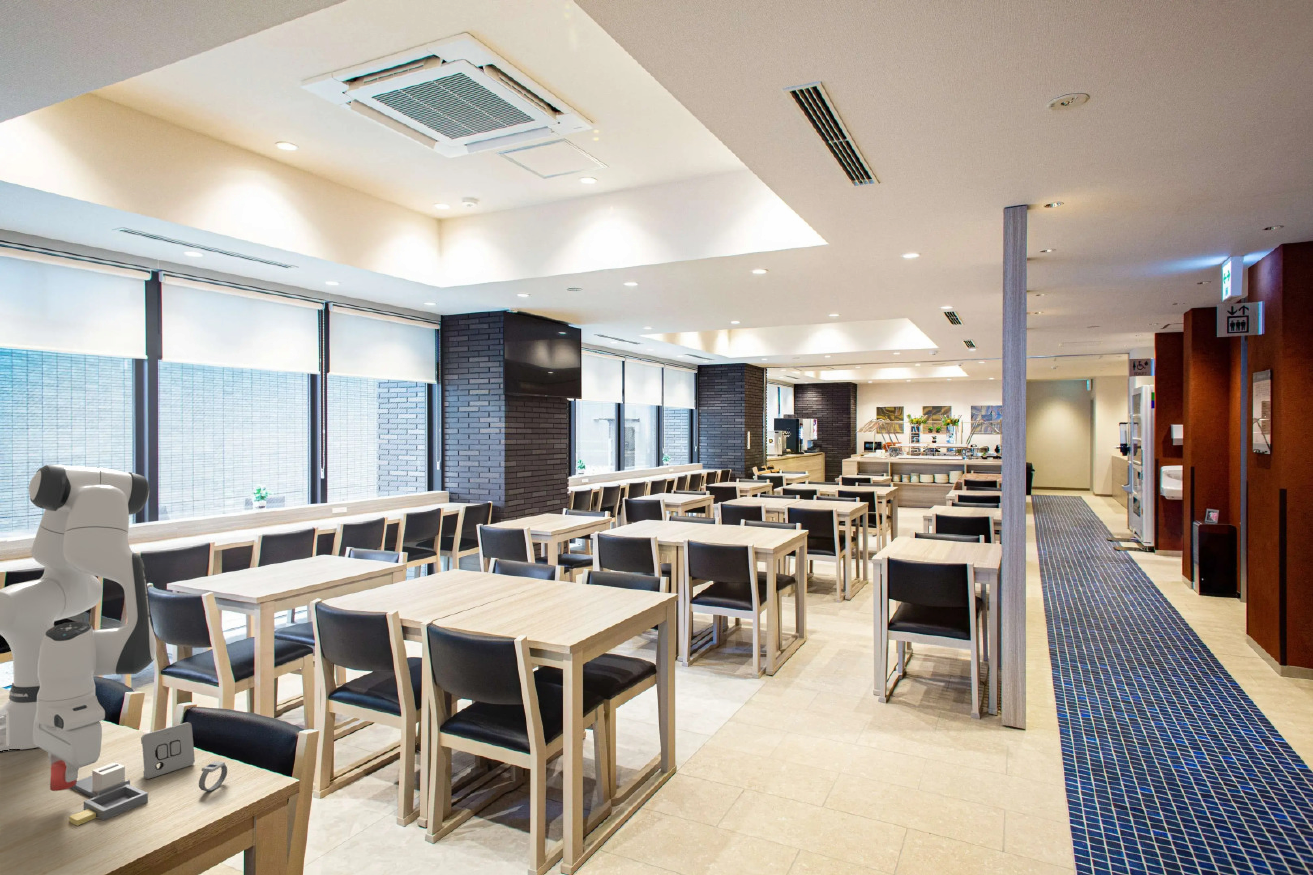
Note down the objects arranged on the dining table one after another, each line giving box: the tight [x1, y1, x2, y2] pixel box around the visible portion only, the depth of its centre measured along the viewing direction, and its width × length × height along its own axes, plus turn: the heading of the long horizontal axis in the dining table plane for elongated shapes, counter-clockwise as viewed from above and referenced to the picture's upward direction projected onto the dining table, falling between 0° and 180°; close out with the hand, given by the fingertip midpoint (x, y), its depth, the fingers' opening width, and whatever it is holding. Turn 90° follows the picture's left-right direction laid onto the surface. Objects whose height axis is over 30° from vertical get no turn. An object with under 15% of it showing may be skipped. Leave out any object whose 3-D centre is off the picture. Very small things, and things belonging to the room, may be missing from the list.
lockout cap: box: [49, 760, 78, 792], centre depth 135 cm, size 4×4×4 cm
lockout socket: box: [68, 784, 149, 826], centre depth 134 cm, size 8×11×2 cm
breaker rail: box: [71, 775, 131, 799], centre depth 142 cm, size 13×5×2 cm, turn 63°
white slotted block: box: [91, 762, 126, 794], centre depth 141 cm, size 4×4×5 cm
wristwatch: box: [198, 760, 228, 792], centre depth 142 cm, size 6×3×5 cm, turn 170°
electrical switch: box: [140, 722, 196, 780], centre depth 151 cm, size 9×5×9 cm, turn 141°
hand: (64, 776), depth 135 cm, fingers closed on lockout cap, 4 cm apart
